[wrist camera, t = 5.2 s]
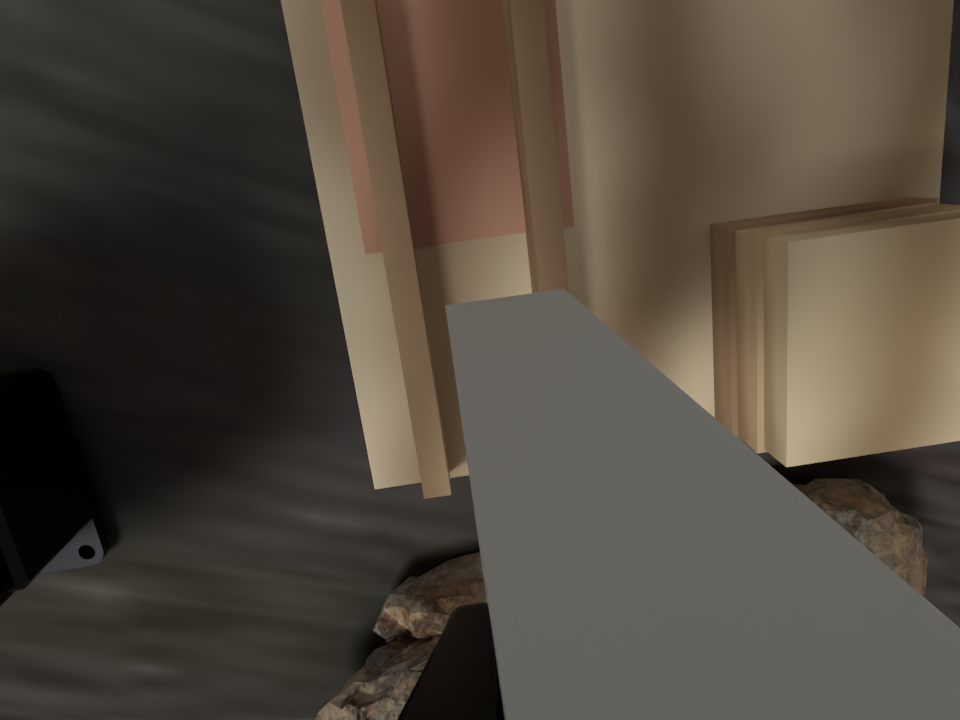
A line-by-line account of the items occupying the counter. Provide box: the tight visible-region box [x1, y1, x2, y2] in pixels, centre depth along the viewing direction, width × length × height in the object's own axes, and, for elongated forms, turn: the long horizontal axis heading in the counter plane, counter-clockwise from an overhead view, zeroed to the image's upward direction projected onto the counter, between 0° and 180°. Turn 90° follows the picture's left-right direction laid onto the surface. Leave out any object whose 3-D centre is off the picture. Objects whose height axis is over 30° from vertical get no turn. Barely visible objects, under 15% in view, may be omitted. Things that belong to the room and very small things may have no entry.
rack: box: [281, 0, 954, 499], centre depth 19 cm, size 18×14×2 cm
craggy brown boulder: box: [314, 478, 927, 720], centre depth 22 cm, size 14×5×20 cm
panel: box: [445, 289, 960, 720], centre depth 8 cm, size 2×7×9 cm, turn 7°
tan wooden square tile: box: [710, 197, 938, 440], centre depth 20 cm, size 6×6×1 cm
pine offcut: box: [764, 210, 960, 467], centre depth 17 cm, size 5×6×1 cm
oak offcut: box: [735, 203, 960, 453], centre depth 19 cm, size 6×6×1 cm
